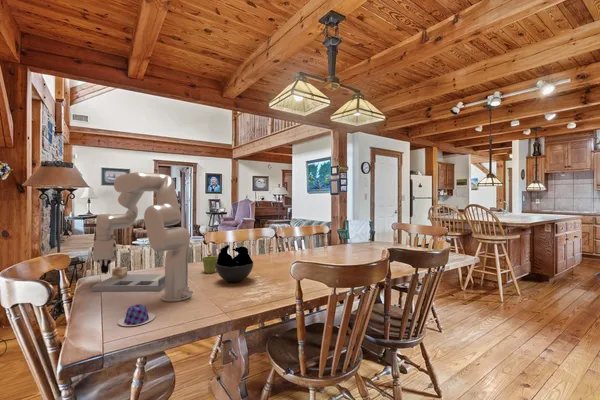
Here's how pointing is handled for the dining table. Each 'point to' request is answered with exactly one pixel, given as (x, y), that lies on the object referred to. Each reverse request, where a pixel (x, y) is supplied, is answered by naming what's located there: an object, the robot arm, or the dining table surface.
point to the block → (119, 273)
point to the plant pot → (209, 264)
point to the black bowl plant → (234, 264)
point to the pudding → (136, 316)
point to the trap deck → (133, 283)
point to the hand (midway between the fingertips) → (104, 272)
